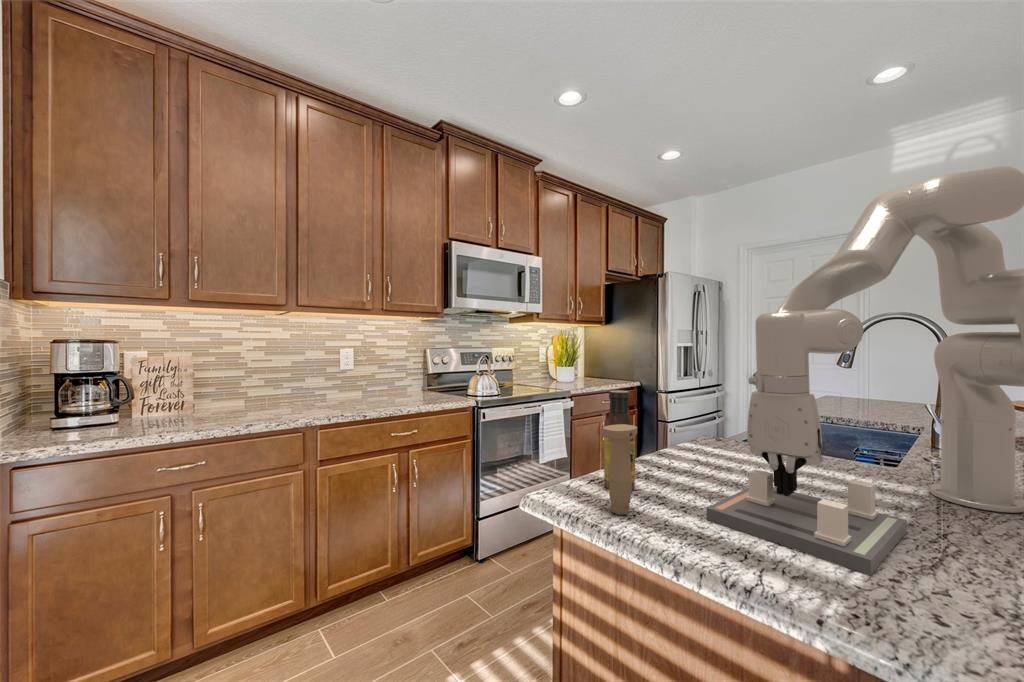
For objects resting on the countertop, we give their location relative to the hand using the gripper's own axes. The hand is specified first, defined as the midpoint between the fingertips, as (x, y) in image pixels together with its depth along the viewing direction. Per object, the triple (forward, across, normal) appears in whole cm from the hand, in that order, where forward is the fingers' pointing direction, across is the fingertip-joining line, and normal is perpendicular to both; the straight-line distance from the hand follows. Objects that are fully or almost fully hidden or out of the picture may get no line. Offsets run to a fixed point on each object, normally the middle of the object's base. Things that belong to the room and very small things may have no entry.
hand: (785, 492), depth 73 cm
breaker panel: (+4, +3, -1) cm, 5 cm away
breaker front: (+2, +9, -8) cm, 12 cm away
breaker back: (+3, +9, +6) cm, 11 cm away
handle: (+4, -20, -19) cm, 28 cm away
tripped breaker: (+2, -4, -1) cm, 4 cm away
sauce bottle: (+4, -28, -9) cm, 29 cm away
